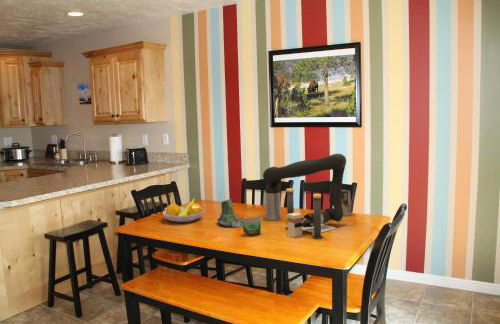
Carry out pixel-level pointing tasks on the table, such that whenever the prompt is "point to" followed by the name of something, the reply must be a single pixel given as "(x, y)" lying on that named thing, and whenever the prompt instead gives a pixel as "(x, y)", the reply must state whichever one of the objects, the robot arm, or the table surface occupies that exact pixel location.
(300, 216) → the carton
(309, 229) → the mat
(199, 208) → the fruit bowl
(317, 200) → the gate
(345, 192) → the coffee box
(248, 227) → the food container
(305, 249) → the table surface
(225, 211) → the tree stump
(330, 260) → the table surface
